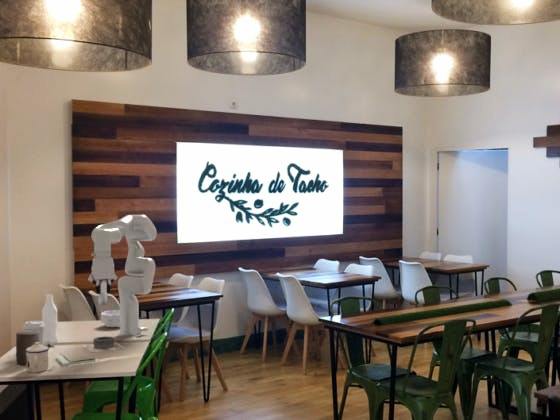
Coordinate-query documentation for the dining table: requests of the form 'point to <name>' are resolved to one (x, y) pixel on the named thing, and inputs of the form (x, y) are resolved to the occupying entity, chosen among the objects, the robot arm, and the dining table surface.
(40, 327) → the coffee cup
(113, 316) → the paper bowls
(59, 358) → the sage pad
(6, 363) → the dining table surface
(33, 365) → the teacup with lid
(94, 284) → the robot arm
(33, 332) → the pillar candle
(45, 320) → the water bottle
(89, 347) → the block
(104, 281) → the steel peg
